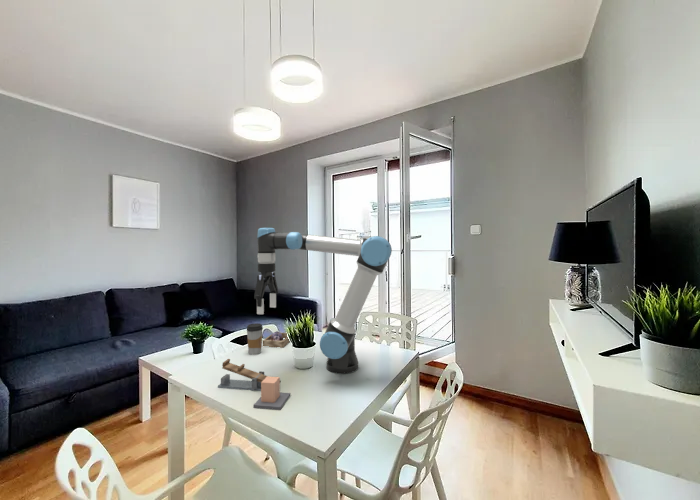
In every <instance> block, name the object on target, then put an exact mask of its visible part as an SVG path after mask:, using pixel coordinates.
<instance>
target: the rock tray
mask: <svg viewBox="0 0 700 500" xmlns="http://www.w3.org/2000/svg"><path fill="white" fill-rule="evenodd" d="M280 333H281V334H282V338H285V339H283V341H271V340H270V339H271V335H272V334H273V333H271V334H270V335H268V336H267V337H266V338H264V339H262V347H263V346H269V347H268V348H277V347H280V348H281V349H282V348H285V347H286V346H287V345H289V343H290V342H289V339H288V337H287V333H288V332H280Z"/></svg>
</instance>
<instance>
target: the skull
mask: <svg viewBox="0 0 700 500" xmlns="http://www.w3.org/2000/svg"><path fill="white" fill-rule="evenodd" d="M281 333H282V332H280V331H279V330H275V331H274V332H273V333H271V334H272V335H271V334H270V335H271V339H270V340H271V341H283V340H284V339H283V338H282V334H281Z"/></svg>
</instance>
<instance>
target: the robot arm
mask: <svg viewBox="0 0 700 500" xmlns="http://www.w3.org/2000/svg"><path fill="white" fill-rule="evenodd" d="M275 229H276V228H273V227H259V228H258V229H257V238H256V239H257V256H256V257H257V262H258V263H257V272H258V273H260V274H257V277H256V278H257V279H256V284H255V290H254V296H253V298H254V300H256V314H257V315H264V314H265V313H264V312H265V304H264V301H265V299H264V298H263V297H264V294H265V291H266V288H267V287H268V289H269V292H270V293H269V308H270V309H271V308H273V309H276V308H277V294H278V293H279V288H278V283H277V279H276V263H275V262H276V250H293V251H294V250H301V251H311V252H312V251H313V252H319V253H320V252H321V253H327V254H328V253H330V254H337V255H345V256H353V257H358V258H357V260H356V264H357V269H356V271H355V273H354V275H353V278H352V280H351V282H350V285H349V287H348V290H347V292H346V294H345V296H344V297H343V300H342V302H341V305H340V307H339V309H338V311H337V314H336V315H335V317H333V318H331V319H330V320H329V323H328V325H327V327H326V329H325V332H324V334H323V335H322V336H321V337H320V341H319V349H320V350H321V353H322V354H323V355H324V356H325V357H327V359H326V364H325V365H326V367H325V368H326V370H327V371H329V372H330V373H333V374H343V375H344V374H350V373H354V372H356V371H358V370H359V369H358V368H359V360H358V357H357V354H356V350H355V348H356V347H355V345H356V344H355V340H356V339H355V334H356V329H355V328H356V322H357V321H358V318H359V316H360V314H361V311H362V309H363V307H364V305H365V303H366V301H367V298H368V296H369V294H370V292H371V289H372V287H373V285H374V283H375V281H376V278H377V276H378V275H381V274H383V272H384V270H385V267H386V266H387V264H388V261H389V259H390V257H391V255H392V252H393V251H392V246H391V243H390V242H389V241H388V240H387V239H386V238H384V237H382V236H379V235H375V236H370V237H367V238H366V237H362V238H361V239H355V238H347V237H346V238H344V237H335V236H324V235H314V234H305V233H300V232H299V231H285V232H276V230H275Z"/></svg>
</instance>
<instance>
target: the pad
mask: <svg viewBox="0 0 700 500" xmlns="http://www.w3.org/2000/svg"><path fill="white" fill-rule="evenodd" d="M291 396H292V395H291V392H283V391H282V392H281V391H280V396H279V397H278V399H277V400H276V401H275V403H272V402H261V396H260V397H259V398H258V399H257V401H256V402H254V403H253V408H254V409H261V410H262V409H265V410H276V411H277V410H278V411H281V410H282V408H283V407H284V406H285V404H287V402H288V400H289V399H290V397H291Z"/></svg>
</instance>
